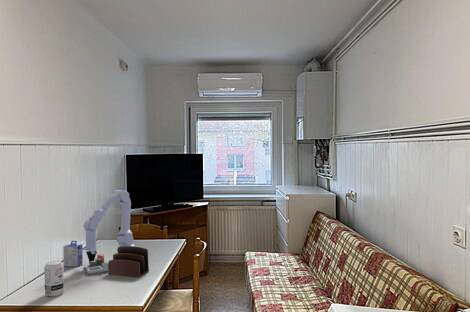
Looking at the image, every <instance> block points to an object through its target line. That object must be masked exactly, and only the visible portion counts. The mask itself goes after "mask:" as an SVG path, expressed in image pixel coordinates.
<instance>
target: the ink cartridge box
mask: <svg viewBox="0 0 470 312" xmlns="http://www.w3.org/2000/svg"><path fill="white" fill-rule="evenodd" d="M62 248H63V249H62V251H63V262H62V263H63V265H64V267H76V268H77V267H80V266H83V263H84V262H83V261H84V260H83V259H84V258H83V255H84V254H83V250H84V248H83V244H78V241H77V240H71V241H70V243H68V244H65V245H63V247H62Z"/></svg>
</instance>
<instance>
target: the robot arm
mask: <svg viewBox="0 0 470 312" xmlns="http://www.w3.org/2000/svg"><path fill="white" fill-rule="evenodd" d="M115 203H119V204H121V213H120V215H121V218H120V230H119V231H117V232H118V235H117V236H116V242H117V243H118V247H123V246H133V247H136V246H135V244H134V236H133V232H132V230H131V229H130V227H131V214H132V213H131V209H132V208H131V207H132V201H131V198H130V193H129V192H128V191H127V190H125V189H114V190H112V191H111V192H110V194H109V196H108V198H107V199H106V200H105V202H104V203H103V205H102V206H101V207H100V208H98V209H96V210H94V211H93V214H92V215H91V216H90V217H89V218H88V219H87V220H86V221H85V222H84V224H83V228H84V229H85V248H83V250H84V251H85V253H86V255H87V259H88V262H89V261H95V259H96V257H97V256H96V255H98V254H97V253H98V252H97V229H98V228H99V224H100V222H101V221H102V220H103V219H104V217H105V216H106V212H107V211H108V210H109V208H111V207H112V205H113V204H115Z"/></svg>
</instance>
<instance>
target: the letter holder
mask: <svg viewBox="0 0 470 312" xmlns="http://www.w3.org/2000/svg"><path fill="white" fill-rule="evenodd" d="M116 250H117V253H114V254H113V255H112V259H110V260H108V262H107V263H108V275H111V276H112V275H113V276H121V277H131V278H132V277H134V278H140V277H142V275H143V276H144V275H146V274H147V273H149V272H150V268H149V249H148V248H145V247H140V246H135V247H133V246H123V247H119V246H118V247H117V249H116Z"/></svg>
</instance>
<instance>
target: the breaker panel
mask: <svg viewBox="0 0 470 312" xmlns="http://www.w3.org/2000/svg"><path fill="white" fill-rule="evenodd" d="M83 269H84V270H85V272H86V273H87V275H88V276H89V277H90V276H96V275H101V274H106V273H108V262H104V263H102V265H96V266H95V267H89V264H87V265H84V266H83Z"/></svg>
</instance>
